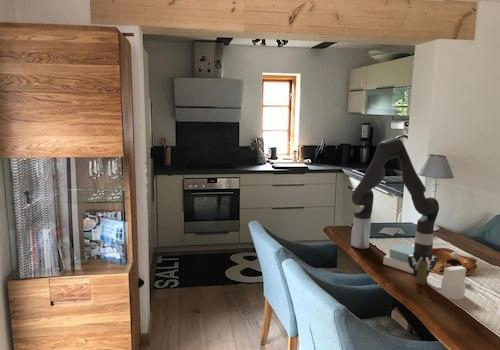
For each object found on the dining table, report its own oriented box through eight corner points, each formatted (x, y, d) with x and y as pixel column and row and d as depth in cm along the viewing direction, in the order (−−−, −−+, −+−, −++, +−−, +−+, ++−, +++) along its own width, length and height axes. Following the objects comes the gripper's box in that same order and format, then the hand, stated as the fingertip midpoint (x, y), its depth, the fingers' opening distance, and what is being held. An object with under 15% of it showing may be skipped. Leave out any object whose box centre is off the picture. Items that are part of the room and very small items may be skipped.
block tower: (383, 263, 207) (384, 248, 205) (398, 256, 217) (399, 241, 216) (413, 273, 195) (415, 258, 194) (428, 265, 206) (429, 250, 204)
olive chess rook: (410, 278, 189) (412, 256, 187) (423, 278, 190) (425, 256, 188) (417, 284, 183) (419, 261, 181) (429, 284, 184) (432, 261, 182)
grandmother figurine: (460, 277, 192) (463, 251, 190) (461, 280, 189) (464, 254, 186) (442, 274, 195) (445, 249, 192) (443, 277, 191) (446, 252, 189)
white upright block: (451, 300, 169) (454, 273, 167) (436, 291, 178) (438, 265, 175) (469, 298, 172) (472, 271, 169) (453, 288, 180) (455, 263, 178)
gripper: (410, 243, 180) (407, 280, 183) (443, 244, 179) (439, 281, 182) (405, 238, 187) (402, 273, 190) (436, 239, 187) (432, 274, 190)
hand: (420, 276), depth 186 cm, fingers closed on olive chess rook, 4 cm apart
